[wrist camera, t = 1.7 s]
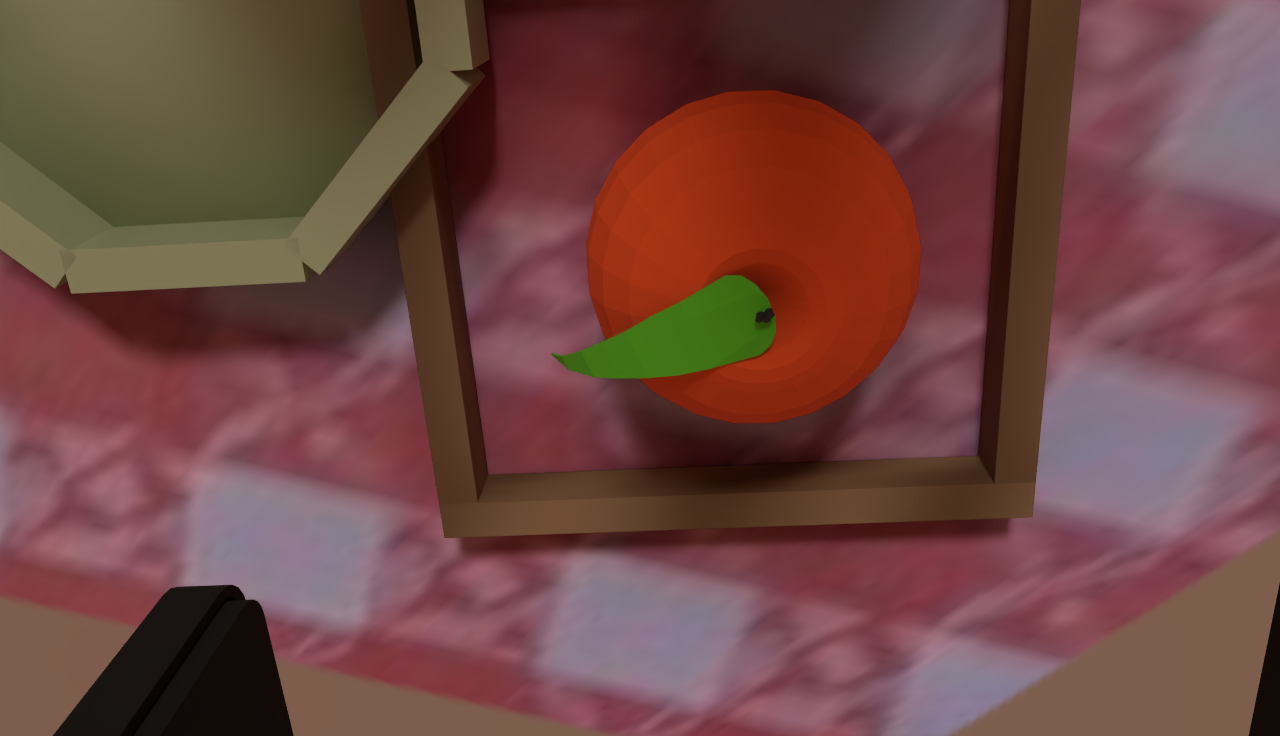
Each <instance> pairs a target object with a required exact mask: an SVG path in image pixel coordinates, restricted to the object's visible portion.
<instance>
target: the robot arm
mask: <svg viewBox="0 0 1280 736" xmlns="http://www.w3.org/2000/svg"><path fill="white" fill-rule="evenodd" d="M53 736H293V732H292V728H291V723H290V719H289V715H288V711H287V707H286V703H285V699H284V694H283V690H282V686H281V682H280V678H279V674H278V670H277V665H276V661H275V657H274V653H273V649H272V645H271V640H270V636H269V632H268V628H267V624H266V620H265V616H264V612H263V610H262V607H261V605H260V604H259V603H258V601H255V600H245V597H244V594H243V593H242V592H241V590H240V589H239V588H238V587H236V586H234V585H216V586H188V587H175V588H171V589H169V590H168V591H167V592H166V593H165V594H164V595H163V596H162V597H161V599H160V600H159V601H158V602H157V604H156V605H155V606H154V608H153V609H152V610H151V611H150V613H149V614H148V615H147V616H146V618H145V619H144V620H143V622H142V623H141V624H140V625H139V627H138V628H137V629H136V630H135V632H134V633H133V634H132V636H131V637H130V638H129V639H128V641H127V642H126V643H125V644H124V646H123V647H122V648H121V650H120V651H119V652H118V653H117V655H116V656H115V657H114V658H113V660H112V661H111V662H110V664H109V665H108V666H107V667H106V669H105V670H104V671H103V673H102V674H101V675H100V676H99V678H98V679H97V680H96V681H95V683H94V684H93V685H92V687H91V688H90V689H89V690H88V692H87V693H86V694H85V695H84V697H83V698H82V699H81V701H80V702H79V703H78V704H77V706H76V707H75V708H74V709H73V711H72V712H71V713H70V715H69V716H68V717H67V718H66V720H65V721H64V722H63V724H62V725H61V726H60V727H59V729H58V730H57V731H56V733H55V734H54V735H53ZM1249 736H1280V585H1279V590H1278V595H1277V599H1276V605H1275V609H1274V614H1273V619H1272V624H1271V629H1270V634H1269V639H1268V644H1267V649H1266V654H1265V658H1264V663H1263V668H1262V673H1261V678H1260V684H1259V688H1258V693H1257V698H1256V703H1255V708H1254V713H1253V717H1252V722H1251V727H1250V733H1249Z"/></svg>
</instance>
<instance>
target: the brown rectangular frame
mask: <svg viewBox="0 0 1280 736" xmlns="http://www.w3.org/2000/svg"><path fill="white" fill-rule="evenodd" d="M359 3H360V9H361V16H362V22H363V28H364V34H365V41H366V47H367V53H368V60H369V66H370V72H371V79H372V85H373V91H374V97H375V104H376V110H377V116H378V120H379V119H380V118H381V116H382V115H383V114H384V112H385V111H386V110H387V108H388V107H389V106H390V104H391V103H392V102H393V101H394V99H395V98H396V97H397V95H398V94H399V93H400V91H401V90H402V89H403V87H404V86H405V85H406V84H407V82H408V81H409V80H410V78H411V77H412V76H413V74H414V73H415V72H416V70H417V69H418V68H419V67H420V65H421V64H422V63H423V59H422V52H421V45H420V38H419V30H418V23H417V16H416V9H415V2H414V0H359ZM1080 4H1081V0H1010V7H1009V22H1008V36H1007V51H1006V65H1005V80H1004V94H1003V109H1002V123H1001V138H1000V152H999V167H998V181H997V196H996V210H995V225H994V239H993V254H992V268H991V283H990V297H989V312H988V326H987V341H986V355H985V370H984V384H983V399H982V413H981V428H980V442H979V456H962V457H936V458H910V459H885V460H859V461H833V462H807V463H782V464H756V465H730V466H705V467H679V468H653V469H627V470H602V471H576V472H550V473H525V474H499V475H488V472H487V464H486V457H485V450H484V442H483V435H482V428H481V420H480V413H479V406H478V398H477V391H476V384H475V376H474V369H473V362H472V355H471V347H470V340H469V333H468V325H467V318H466V311H465V303H464V296H463V289H462V281H461V274H460V267H459V259H458V252H457V245H456V237H455V230H454V223H453V215H452V208H451V201H450V193H449V186H448V179H447V171H446V164H445V157H444V149H443V142H442V135H441V132H440V134H439V135H438V136H437V137H436V139H435V140H434V141H433V142H432V143H430V144H429V145H428V146H427V147H426V148H425V149H424V150H423V152H422V153H421V154H420V156H419V157H418V158H417V159H416V161H415V162H414V163H413V164H412V166H411V167H410V168H409V169H408V171H407V172H406V173H405V174H404V176H403V177H402V178H401V180H400V181H399V182H398V183H397V185H396V186H395V187H394V188H393V190H392V191H391V192H390V198H391V204H392V211H393V217H394V223H395V229H396V236H397V242H398V248H399V255H400V261H401V267H402V274H403V280H404V286H405V292H406V299H407V305H408V311H409V318H410V324H411V330H412V336H413V343H414V349H415V355H416V362H417V368H418V374H419V380H420V387H421V393H422V399H423V406H424V412H425V418H426V424H427V431H428V437H429V443H430V450H431V456H432V462H433V469H434V475H435V481H436V487H437V494H438V500H439V506H440V513H441V519H442V525H443V531H444V538H458V537H486V536H515V535H543V534H571V533H600V532H628V531H656V530H685V529H713V528H741V527H770V526H798V525H826V524H855V523H883V522H911V521H940V520H968V519H996V518H1025V517H1032V516H1033V505H1034V495H1035V484H1036V473H1037V463H1038V452H1039V441H1040V431H1041V420H1042V409H1043V399H1044V388H1045V377H1046V367H1047V356H1048V345H1049V335H1050V324H1051V313H1052V303H1053V292H1054V281H1055V271H1056V260H1057V250H1058V239H1059V228H1060V218H1061V207H1062V196H1063V186H1064V175H1065V164H1066V154H1067V143H1068V132H1069V122H1070V111H1071V100H1072V90H1073V79H1074V68H1075V58H1076V47H1077V36H1078V26H1079V15H1080Z"/></svg>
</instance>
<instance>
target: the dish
mask: <svg viewBox="0 0 1280 736" xmlns="http://www.w3.org/2000/svg"><path fill="white" fill-rule="evenodd" d="M414 2H415V9H416V16H417V23H418V30H419V38H420V45H421V52H422V59H423V63H422V64H421V65H420V67H419V68H418V69H417V70H416V72H415V73H414V74H413V76H412V77H411V78H410V80H409V81H408V82H407V84H406V85H405V86H404V87H403V89H402V90H401V91H400V93H399V94H398V95H397V97H396V98H395V99H394V101H393V102H392V103H391V104H390V106H389V107H388V108H387V110H386V111H385V112H384V114H383V115H382V116H381V118H380V119H379V120H378V116H377V110H376V104H375V97H374V91H373V85H372V79H371V72H370V66H369V60H368V53H367V47H366V41H365V34H364V28H363V22H362V16H361V9H360V3H359V0H0V249H1V250H2V251H4V252H5V253H6V254H8V255H9V256H10V257H12V258H13V259H15V260H16V261H17V262H19V263H20V264H21V265H23V266H24V267H26V268H27V269H28V270H30V271H31V272H33V273H34V274H35V275H37V276H38V277H39V278H41V279H42V280H44V281H45V282H46V283H48V284H49V285H50V286H52V287H53V288H57V287H59V286H60V285H62V284H64V283H66V282H68V284H69V288H70V291H71V294H75V293H94V292H114V291H134V290H153V289H173V288H193V287H212V286H232V285H252V284H271V283H291V282H306V281H307V280H308V279H309V278H311V277H312V276H313V275H314V274H315V273H316V272H317V273H318V274H319V275H321V274H322V273H323V272H324V271H325V270H326V269H327V268H328V267H329V266H330V265H331V264H332V263H334V262H335V261H336V260H337V259H338V258H339V257H340V256H341V255H342V254H343V253H344V252H345V251H346V250H347V249H348V248H349V247H350V246H351V244H352V243H353V242H354V241H355V239H356V238H357V237H358V236H359V234H360V233H361V232H362V231H363V229H364V228H365V227H366V226H367V224H368V223H369V222H370V220H371V219H372V218H373V217H374V215H375V214H376V213H377V212H378V210H379V209H380V208H381V207H382V205H383V204H384V203H385V202H386V200H387V199H388V198H389V197H390V192H391V191H392V190H393V188H394V187H395V186H396V185H397V183H398V182H399V181H400V180H401V178H402V177H403V176H404V174H405V173H406V172H407V171H408V169H409V168H410V167H411V166H412V164H413V163H414V162H415V161H416V159H417V158H418V157H419V156H420V154H421V153H422V152H423V150H424V149H425V148H426V147H427V146H428V145H429V144H430V143H432V142H433V141H434V140H435V139H436V137H437V136H438V135H439V134H440V132H441V131H442V130H443V128H444V127H445V126H446V125H447V123H448V122H449V121H450V120H451V118H452V117H453V116H454V115H455V113H456V112H457V111H458V110H459V108H460V107H461V106H462V105H463V103H464V102H465V101H466V99H467V98H468V97H469V96H470V94H471V93H472V92H473V91H474V89H475V88H476V87H477V86H478V84H479V83H480V82H481V81H482V79H483V78H484V77H485V76H486V75H484V74H483V73H482V72H481V71H480V70H479V69H478V68H476V67H478V66H479V65H481V64H483V63H484V62H486V61H487V60H489V59H490V56H489V48H488V39H487V30H486V22H485V13H484V4H483V0H414Z"/></svg>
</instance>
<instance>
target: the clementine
mask: <svg viewBox="0 0 1280 736" xmlns="http://www.w3.org/2000/svg"><path fill="white" fill-rule="evenodd" d="M586 247H587V266H588V283H589V290H590V296H591V299H592V302H593V305H594V308H595V311H596V314H597V317H598V320H599V323H600V326H601V329H602V332H603V334H604V336H605V337H606V339H607V340H605V341H602V342H600V343H598V344H596V345H593V346H591V347H589V348H586V349H584V350H582V351H578V352H575V353H571V354H568V355H565V356H562V355H558V354H555V353H552V355H553V356H554V357H555V358H556V359H557V360H558V361H559V362H560V363H561V364H563V365H564V366H565V367H566V368H567V369H568V370H571V371H574V372H578V373H581V374H585V375H588V376H591V377H598V378H618V379H625V378H639V379H640V380H641V381H642V382H643V383H644V384H645V385H646V386H648V387H649V388H650V389H651V390H652V391H653V392H654V393H656V394H657V395H659V396H661V397H663V398H665V399H667V400H669V401H671V402H673V403H675V404H677V405H679V406H681V407H683V408H685V409H687V410H689V411H691V412H693V413H695V414H698V415H701V416H706V417H710V418H714V419H719V420H723V421H727V422H732V423H775V422H779V421H783V420H787V419H791V418H795V417H799V416H803V415H807V414H811V413H813V412H815V411H817V410H818V409H820V408H822V407H824V406H826V405H828V404H830V403H832V402H834V401H836V400H838V399H839V398H841V397H843V396H845V395H846V394H848V393H849V392H850V391H851V390H852V389H853V388H854V387H856V386H857V385H858V384H859V383H860V382H861V381H862V380H863V379H865V378H866V377H867V376H868V375H869V374H870V373H871V372H873V371H874V370H875V369H876V368H877V367H878V365H879V364H880V363H881V362H882V360H883V359H884V357H885V356H886V355H887V353H888V352H889V350H890V349H891V347H892V346H893V344H894V343H895V341H896V340H897V339H898V337H899V336H900V334H901V333H902V331H903V330H904V328H905V325H906V322H907V319H908V317H909V314H910V311H911V308H912V305H913V303H914V300H915V297H916V294H917V291H918V285H919V272H920V259H921V243H920V239H919V234H918V229H917V224H916V219H915V214H914V209H913V205H912V201H911V198H910V194H909V192H908V190H907V188H906V186H905V184H904V182H903V180H902V178H901V177H900V175H899V173H898V171H897V169H896V167H895V165H894V163H893V161H892V160H891V158H890V156H889V154H888V153H887V152H886V151H885V150H884V149H883V148H882V147H881V146H880V145H879V144H878V143H877V142H876V141H875V140H874V139H873V138H872V137H871V136H870V135H869V134H868V133H867V132H866V131H865V130H864V129H863V128H862V127H861V126H860V125H859V124H858V123H857V122H855V121H853V120H851V119H850V118H848V117H846V116H844V115H843V114H841V113H839V112H837V111H836V110H834V109H832V108H830V107H829V106H827V105H825V104H823V103H822V102H820V101H816V100H812V99H808V98H804V97H800V96H796V95H792V94H788V93H784V92H780V91H776V90H766V91H729V92H725V93H722V94H718V95H715V96H712V97H708V98H705V99H702V100H698V101H695V102H692V103H688V104H686V105H684V106H683V107H681V108H679V109H678V110H676V111H674V112H673V113H671V114H670V115H668V116H666V117H665V118H663V119H662V120H660V121H658V122H657V123H655V124H654V125H652V126H650V127H649V128H647V129H646V130H645V131H644V132H643V133H642V134H641V135H640V136H639V137H638V138H637V139H636V141H635V142H634V143H633V144H632V145H631V146H630V147H629V148H628V149H627V150H626V151H625V152H624V153H623V154H622V155H621V157H620V158H619V159H618V160H617V161H616V162H615V164H614V166H613V168H612V170H611V172H610V173H609V175H608V177H607V179H606V181H605V183H604V185H603V187H602V189H601V190H600V192H599V194H598V196H597V198H596V200H595V204H594V209H593V213H592V218H591V222H590V227H589V231H588V236H587V240H586Z"/></svg>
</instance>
